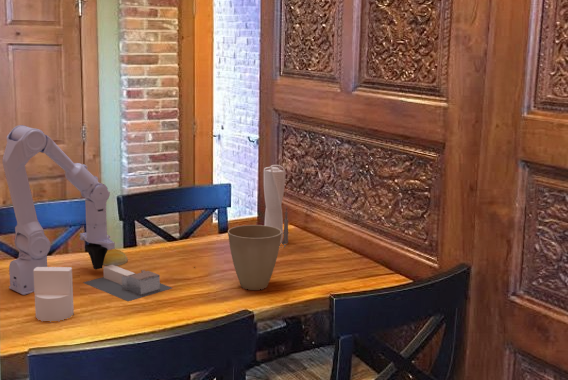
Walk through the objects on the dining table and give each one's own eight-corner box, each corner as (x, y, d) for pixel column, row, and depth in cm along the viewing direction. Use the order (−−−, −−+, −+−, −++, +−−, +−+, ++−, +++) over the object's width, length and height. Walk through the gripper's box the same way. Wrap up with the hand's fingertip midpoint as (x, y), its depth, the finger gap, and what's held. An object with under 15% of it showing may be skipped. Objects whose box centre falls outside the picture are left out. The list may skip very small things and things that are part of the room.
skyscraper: (283, 249, 247) (284, 166, 242) (259, 247, 249) (260, 164, 244) (288, 243, 256) (290, 161, 250) (265, 241, 257) (267, 160, 252)
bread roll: (100, 268, 224) (100, 255, 223) (99, 260, 232) (99, 247, 231) (128, 267, 226) (128, 254, 225) (126, 258, 234) (126, 246, 233)
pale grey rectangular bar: (103, 277, 213) (103, 266, 213) (112, 275, 216) (112, 264, 215) (127, 286, 206) (126, 275, 206) (135, 284, 208) (135, 273, 208)
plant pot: (291, 287, 210) (292, 232, 207) (249, 298, 200) (250, 241, 197) (257, 274, 221) (258, 221, 218) (216, 284, 211) (217, 229, 208)
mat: (128, 302, 195) (128, 301, 195) (82, 283, 209) (82, 282, 209) (173, 289, 206) (173, 287, 206) (127, 272, 220) (127, 270, 220)
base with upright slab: (77, 308, 191) (75, 263, 188) (68, 322, 182) (66, 275, 179) (41, 308, 190) (39, 263, 188) (31, 322, 181) (28, 274, 179)
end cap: (138, 296, 199) (138, 280, 198) (121, 289, 204) (121, 273, 203) (161, 289, 205) (161, 274, 204) (143, 283, 210) (143, 268, 209)
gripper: (123, 225, 213) (124, 270, 216) (93, 216, 223) (95, 260, 225) (102, 229, 208) (103, 276, 211) (72, 220, 217) (74, 265, 220)
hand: (97, 268), depth 218 cm, fingers closed
